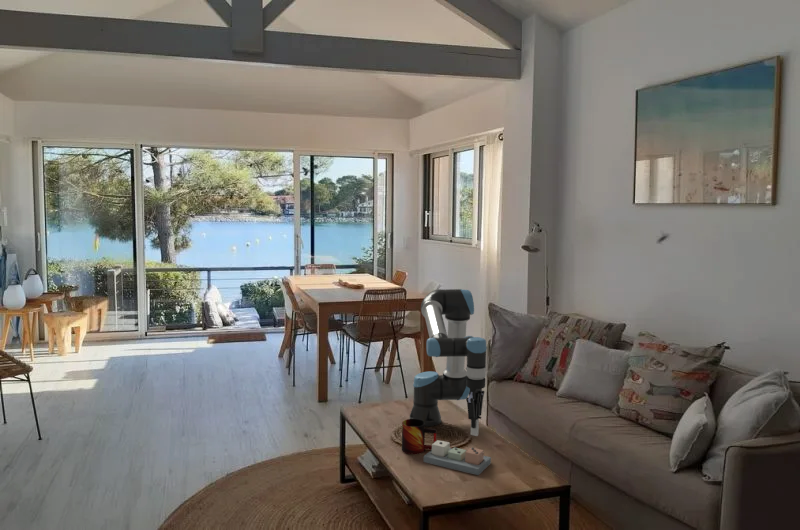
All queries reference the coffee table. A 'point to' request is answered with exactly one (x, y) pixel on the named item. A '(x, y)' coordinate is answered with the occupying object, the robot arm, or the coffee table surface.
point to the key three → (474, 456)
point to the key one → (440, 448)
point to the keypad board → (457, 463)
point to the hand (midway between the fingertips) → (474, 434)
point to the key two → (457, 454)
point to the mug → (415, 436)
